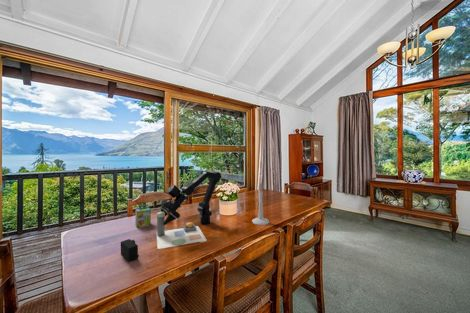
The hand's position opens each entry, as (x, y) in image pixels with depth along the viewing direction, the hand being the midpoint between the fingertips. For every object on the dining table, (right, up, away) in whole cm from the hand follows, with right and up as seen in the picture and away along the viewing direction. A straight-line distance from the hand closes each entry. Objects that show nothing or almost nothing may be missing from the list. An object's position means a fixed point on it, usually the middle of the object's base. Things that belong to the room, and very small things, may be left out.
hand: (160, 222), depth 122 cm
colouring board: (+12, -9, -1) cm, 15 cm away
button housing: (+16, -8, +9) cm, 20 cm away
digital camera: (-6, -9, -23) cm, 26 cm away
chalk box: (-20, -8, +18) cm, 28 cm away
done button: (+16, -6, +9) cm, 19 cm away
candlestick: (+66, -8, +25) cm, 71 cm away
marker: (0, -8, 0) cm, 8 cm away
